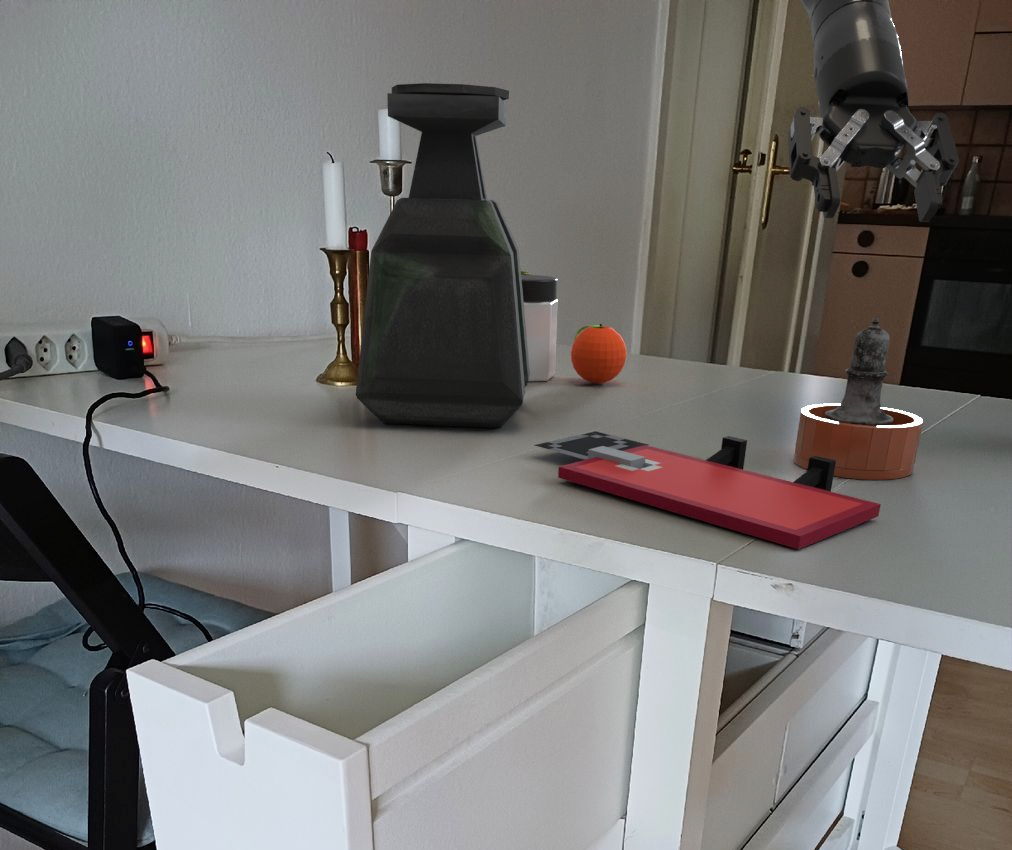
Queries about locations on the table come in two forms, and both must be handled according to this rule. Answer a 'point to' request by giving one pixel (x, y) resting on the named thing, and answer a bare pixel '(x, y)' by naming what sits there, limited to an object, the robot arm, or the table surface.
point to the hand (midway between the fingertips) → (881, 213)
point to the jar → (540, 324)
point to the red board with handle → (716, 488)
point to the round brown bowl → (859, 444)
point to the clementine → (598, 353)
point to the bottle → (445, 277)
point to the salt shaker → (865, 380)
